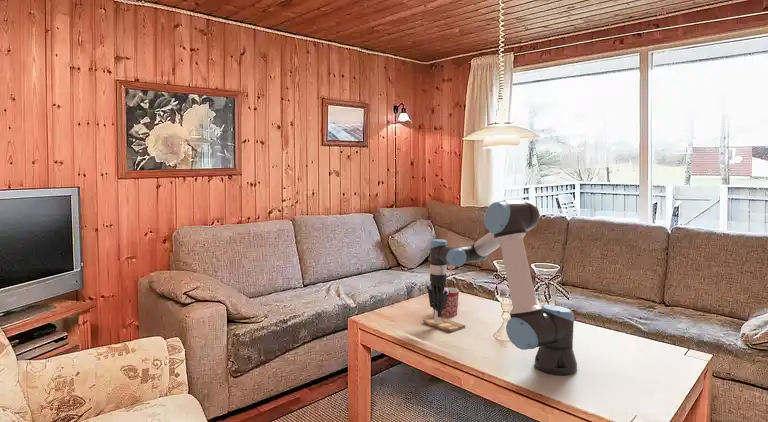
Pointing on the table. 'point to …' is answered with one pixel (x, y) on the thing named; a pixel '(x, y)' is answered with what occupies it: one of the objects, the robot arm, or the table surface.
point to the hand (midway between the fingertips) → (437, 323)
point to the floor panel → (449, 323)
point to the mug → (451, 303)
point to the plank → (441, 325)
